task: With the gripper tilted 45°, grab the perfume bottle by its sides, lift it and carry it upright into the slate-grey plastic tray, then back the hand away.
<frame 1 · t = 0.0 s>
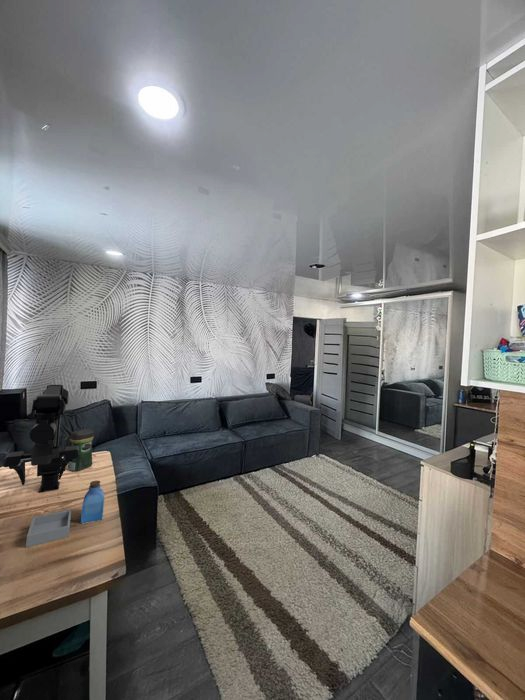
hand: (42, 481, 88), 15 cm above the table, tool pointing down, fingers open, 9 cm apart
tray: (50, 532, 86), on the table
coffee jar: (79, 468, 132), on the table
perfume bottle: (92, 517, 95), on the table
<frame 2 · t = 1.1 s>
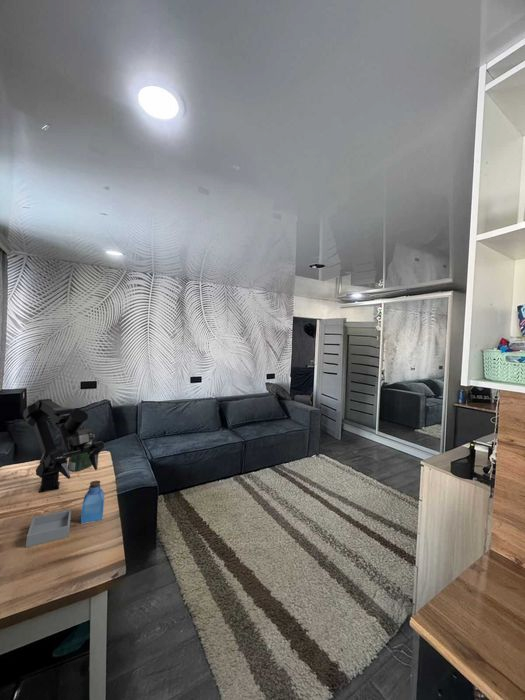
hand: (83, 473, 99), 13 cm above the table, tool tilted 45°, fingers open, 9 cm apart
nothing on the table moved.
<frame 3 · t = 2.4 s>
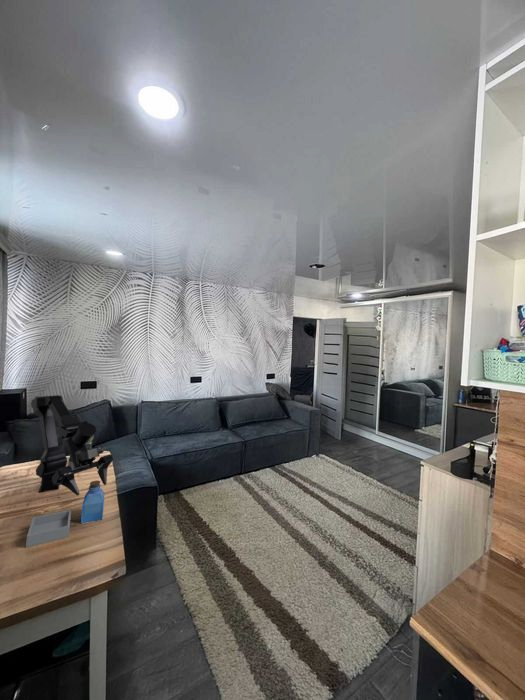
hand: (92, 489, 96), 9 cm above the table, tool tilted 45°, fingers open, 9 cm apart
nothing on the table moved.
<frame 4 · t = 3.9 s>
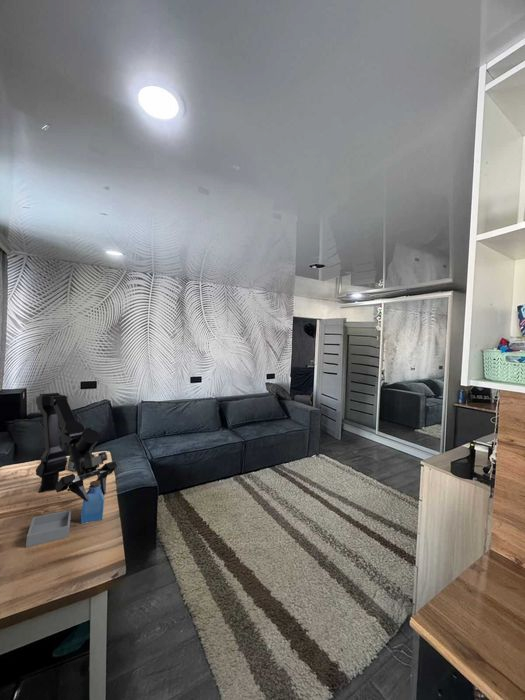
hand: (96, 497, 94), 7 cm above the table, tool tilted 45°, fingers closed on perfume bottle, 5 cm apart
perfume bottle: (92, 517, 95), on the table, touching gripper
everything else where it was.
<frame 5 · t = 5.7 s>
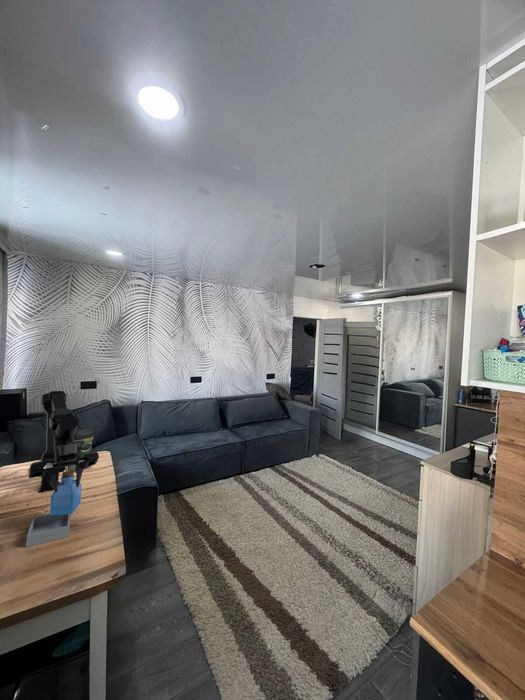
hand: (67, 488, 88), 13 cm above the table, tool tilted 45°, fingers closed on perfume bottle, 5 cm apart
perfume bottle: (65, 509, 89), point 6 cm above the table, touching gripper
everything else where it was.
when the fingers open (9 cm above the table, at t = 7.5 s): perfume bottle stays where it is, resting on tray.
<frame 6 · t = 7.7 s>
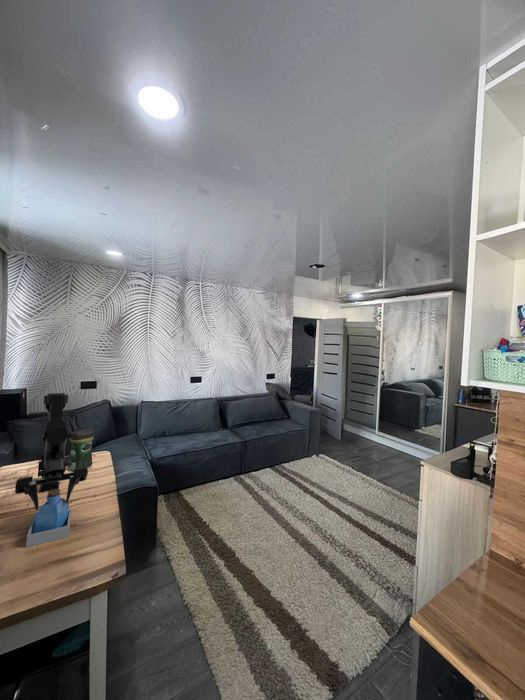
hand: (52, 506, 85), 9 cm above the table, tool tilted 45°, fingers open, 7 cm apart
perfume bottle: (51, 529, 86), point 1 cm above the table, touching tray
everything else where it was.
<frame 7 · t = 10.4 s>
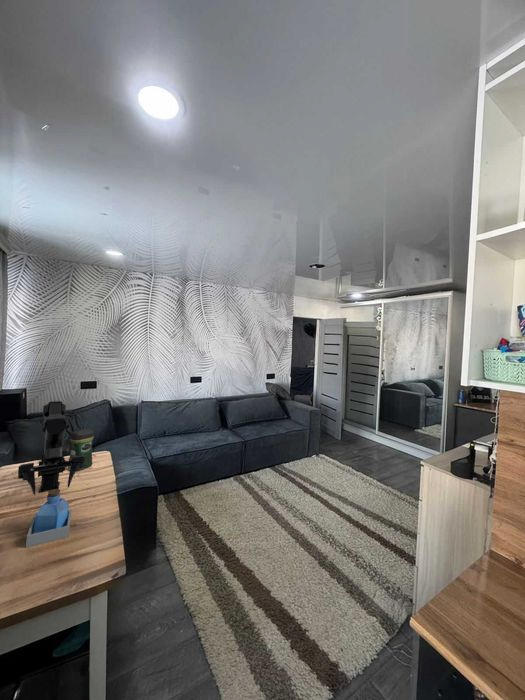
hand: (52, 490, 93), 10 cm above the table, tool tilted 45°, fingers open, 9 cm apart
nothing on the table moved.
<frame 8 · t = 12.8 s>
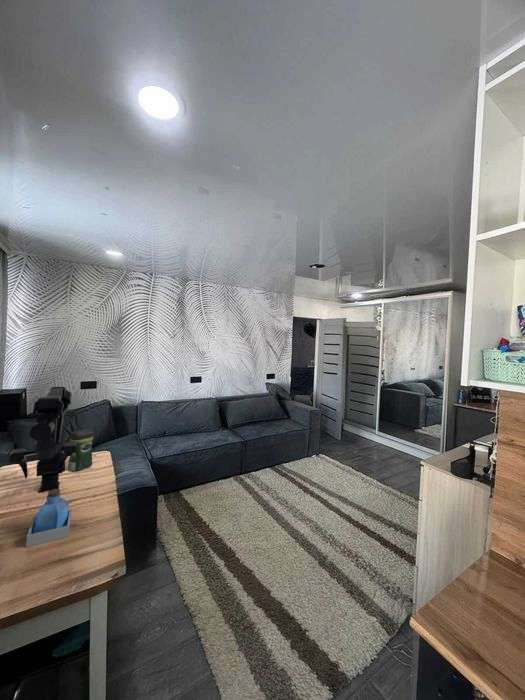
hand: (43, 475, 98), 12 cm above the table, tool pointing down, fingers open, 9 cm apart
nothing on the table moved.
at the end: perfume bottle 0.3 cm off-centre on the tray, point 0.6 cm above the tray's base; perfume bottle tilted 0°; the gripper is holding nothing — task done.
